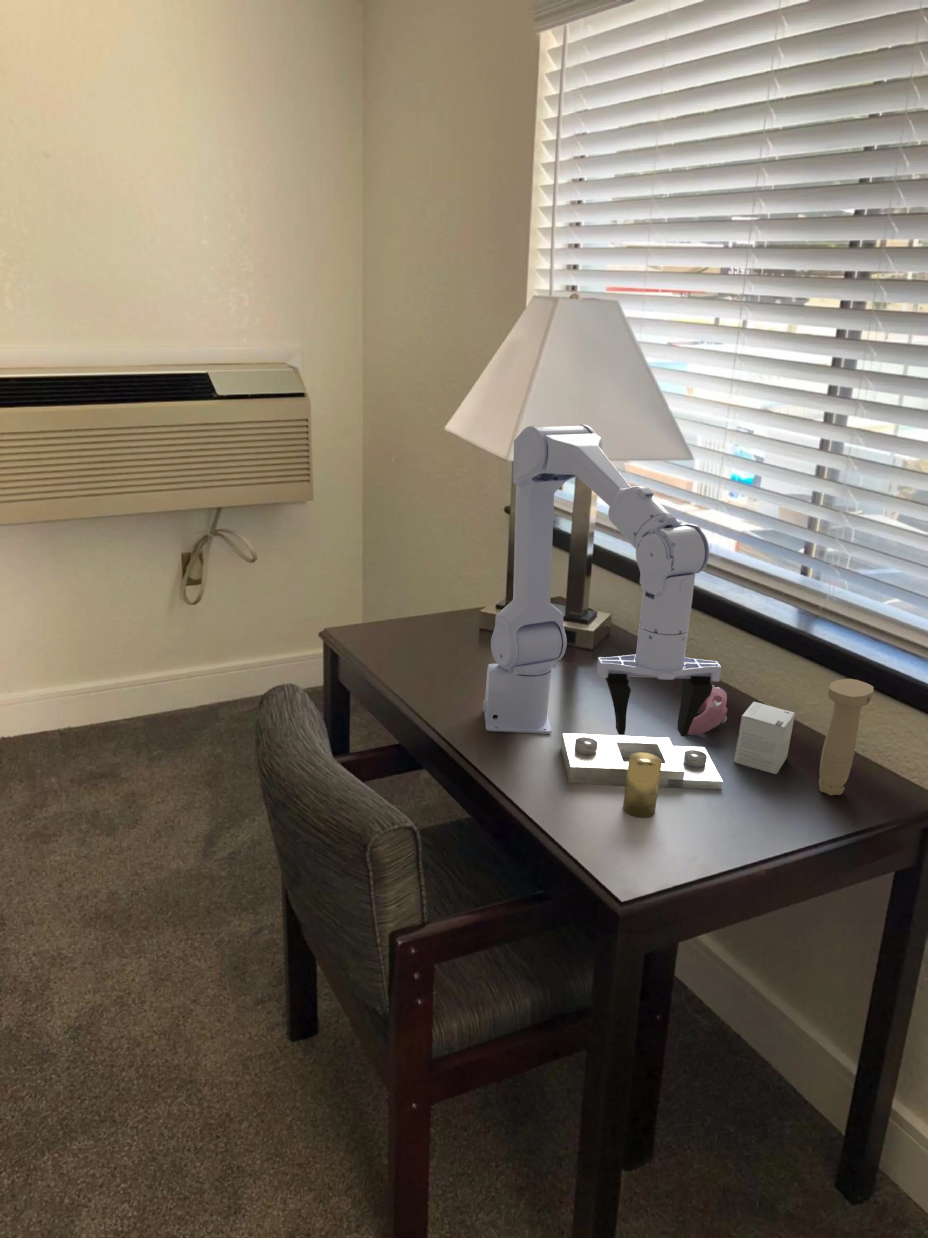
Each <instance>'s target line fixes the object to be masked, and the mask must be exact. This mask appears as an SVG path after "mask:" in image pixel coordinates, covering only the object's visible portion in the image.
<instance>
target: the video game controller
mask: <svg viewBox="0 0 928 1238" xmlns="http://www.w3.org/2000/svg"><path fill="white" fill-rule="evenodd" d="M711 685H712V692H711V694H710V696H709V697H708V698H707V699H706V700H705V702H704V703H703V704H702V706H701V707H700V709H699V710H698V712H702V713H700V714H699V715H697V716H695V717H694V719H693V721H692V724H691V726H690V728H689V731H688V734H687V736H698V735H699V736H700V735H702V734H705V733H707V732H709V731H711V730H712V729H714V728H717V727H718V726H719V725H720V724H724V723H725V722H726V721H727V719H728V717H727V713H728V707H726V706H727V702H728V695H727V692H726V691H725V689H724V688H722V687H719V686H717V687H715V685H714V684H711ZM698 712H697V713H698Z"/></svg>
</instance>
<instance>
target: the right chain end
mask: <svg viewBox="0 0 928 1238" xmlns="http://www.w3.org/2000/svg"><path fill="white" fill-rule="evenodd" d="M673 747H674V750H675V752H676V754H677V756H678V758H679V760H680V762H681V764H682V767H683V769H684V771H685V774H684V780H679V779H660V780H659V787H658V788H680V789H681V788H682V789H702V790H703V789H704V790H722V788H723V779H722V777H721V775H720V773H719V772H718V770H717V768H716V766H715V764H714V762H713V761H712V759H711V757H710V755H709V753H708V751H707V749H706V747H705V746H689V745H688V746H685V745H673ZM619 752H620V754H621V757H622V759H629V757H630V755H632V754H634V753H640V752H643V753H650V754H653V755H655V756H657V757H659V756H658V754H657V752H655V751H633V750H619ZM626 779H627V777H610V776H609V785H610V786H611V785H613V786H626Z"/></svg>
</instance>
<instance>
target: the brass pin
mask: <svg viewBox="0 0 928 1238" xmlns="http://www.w3.org/2000/svg"><path fill="white" fill-rule="evenodd" d="M628 762H629V763H628V771H627V779H626V785H625V786H624V787H625V788H624V796H623V797H624V798H623V804H622V809H623V812H625V813H626V814H627V815H628V816H631V817H633V818H638V819H648V818H649V819H650V818H651V817H653V816H654V815H655V814H656V807H657V800H658V794H659V788H660V787H659V780H660V773H661V766H662V760H661V759H660V758H659V757H657V756H655V755H653V754H650V753H643V752H640V753H634V754H632V755H630V757H629V758H628Z"/></svg>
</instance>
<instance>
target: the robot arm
mask: <svg viewBox="0 0 928 1238" xmlns="http://www.w3.org/2000/svg"><path fill="white" fill-rule="evenodd" d="M512 462H513V463H512V464H513V466H512V467H513V468H512V469H513V471H512V483H513V484H514V485H515V509H514V510H515V511H514V512H515V513H514V515H515V516H514V517H515V518H514V546H513V547H514V551H513V554H514V555H513V584H512V585H513V587H512V588H513V591H512V592H513V593H512V595H513V596H512V600H511V601H510V602H509V603H507V605H506V606H505V607H504V608H502V609H501V610H500V611H498V613H497V614H496V615H495V622H494V623H495V624H494V629H493V632H492V634H491V635H492V636H491V638H490V650H491V651H490V652H491V654H492V657H493V659H494V661H495V662H496V663H489V664H487V668H486V669H487V670H486V682H485V683H486V684H485V696H484V697H485V698H484V700H483V702H482V704H483V705H482V711H483V713H484V720H485V721H484V723H485V730H486V731H488V732H500V733H501V732H503V733H520V734H521V733H527V734H544V735H545V734H546V735H548V734H549V735H551V734H552V727H551V721H550V716H549V713H548V710H549V702H550V701H549V698H550V688H551V678H552V670H553V669H554V668H555V669H556V668H557V661H560V660H561V659H562V658H563V657H564V655H565V654H566V649H567V644H568V642H567V641H568V640H567V635H566V631H565V627H564V614H563V613H562V611H561V610H560V609H558V608H557V607H556V606H555V605H553V604H552V603H551V591H552V590H551V589H552V587H551V586H552V563H553V560H552V559H553V537H554V536H553V533H554V532H553V531H554V507H555V505H554V504H555V493H556V492H557V491H558V490H559V489H561V487H562V486H563V485H564V484H565V483H567V481H570V480H571V479H574V478H578V479H579V480H580V481H581V482H583V484H585V486H587V488H589V489H590V490H591V491H592V492H593V493H594V494H595V495H596V496H598V497H599V499H601V500H602V501H603V502H604V503H605V504H606V505H608V510H607V511H608V512H607V514H608V515H607V516H608V519H609V521H610V523H611V524H612V525H613V526H614V527H615V528H616V529H617V530H618V531H619V532H620V534H621V535H622V536H623V537H624V538H625V539H626V540H627V541H628V542H629V543H630V545H631V546H632V547H633V548H634V549H635V559H636V565H637V567H638V570H639V573H640V575H639V584H640V589H642V597H641V605H640V606H641V607H640V614H639V623H638V624H639V625H638V633H637V642H636V651H635V654H626V655H617V656H605V657H604V656H603V657H602V656H598V657H597V663H596V674H597V676H598V678H600V679H605V681H606V683H607V687H608V689H609V693H610V698H611V699H612V704H613V705H612V706H613V709H614V715H615V716H614V717H615V729H616V731H617V734H618V736H625V733H626V728H627V725H626V723H627V713H628V712H627V711H628V705H629V701H630V700H629V699H630V695H631V692H632V689H631V687H630V685H629V681H630V680H629V679H628V678H630V677H631V678H655V679H656V678H657V680H671V681H672V680H675V679H681V698H680V707H679V712H678V713H679V714H678V719H677V731H678V733H679V735H680V736H681V737H688V731H689V728H690V726H691V724H692V721H693V719H694V718H695V717H696V715H697V714H698V710H699V709H700V707H701V706H702V704H703V703H704V702H705V700H706V699H707V698H708V697H709V696H710V694H711V692H712V685H713V684H712V683H711V682H720V680H721V673H722V665H721V663H719V662H718V661H717V660H707V659H701V658H700V659H699V658H691V657H686V651H687V650H686V649H687V643H688V635H689V628H690V627H689V626H690V618H691V611H692V604H693V598H694V597H693V596H694V590H695V589H694V588H695V579H696V574H699V573H700V572H702V571H703V570H704V569H705V568H706V566H707V564H708V561H709V558H710V545H709V542H708V539H707V537H706V534H704V532H703V531H702V529H701V527H700V526H698V525H697V524H694V523H688V524H687V523H686V524H685V523H684V522H683V521H681V520H680V521H679V520H677V518H676V517H675V516H674V514H673V513H670V512H669V511H668V510H667V508H665V507H664V506H663V505H662V504H661V503H660V502H659V500H658V499H656V498H655V496H654V494H655V493H654V491H653V490H652V489H651V488H650V487H644V486H641V485H634V486H633V485H632V486H631V485H630V484H629V482H628V481H627V480H626V479H625V477H624V476H623V475H622V474H621V473H620V471H619V470H618V469H617V467H616V466H615V464H613V462H612V461H611V460H610V458H609V457H607V455H606V454H605V453H604V451H603V442H602V437H601V436H599V435H598V434H597V433H596V432H595V430H594V429H593V428H592V427H591V426H589V425H587V424H578V425H568V426H567V425H563V426H562V425H561V426H539V427H538V426H534V425H533V426H532V425H531V426H526V427H524V428H523V429H522V430H521V432H520V433H519V434H518V435H517V436H516V438H515V439H514V441H513V461H512Z"/></svg>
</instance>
